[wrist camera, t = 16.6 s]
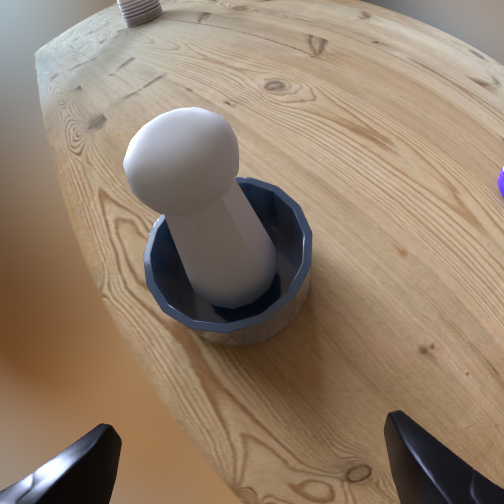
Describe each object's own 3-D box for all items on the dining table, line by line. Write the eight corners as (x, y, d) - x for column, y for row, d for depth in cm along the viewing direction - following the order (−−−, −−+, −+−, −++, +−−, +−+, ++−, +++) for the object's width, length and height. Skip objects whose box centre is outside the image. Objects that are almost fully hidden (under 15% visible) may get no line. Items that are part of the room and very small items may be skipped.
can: (128, 29, 57) (114, -4, 47) (124, 24, 62) (112, -6, 52) (167, 13, 58) (155, -20, 48) (159, 9, 63) (149, -21, 53)
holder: (266, 372, 18) (256, 366, 14) (150, 303, 21) (116, 279, 17) (331, 247, 21) (338, 208, 17) (218, 201, 25) (202, 161, 20)
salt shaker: (295, 291, 20) (289, 143, 8) (219, 332, 19) (109, 236, 8) (254, 227, 22) (213, 72, 11) (186, 263, 22) (92, 133, 10)
